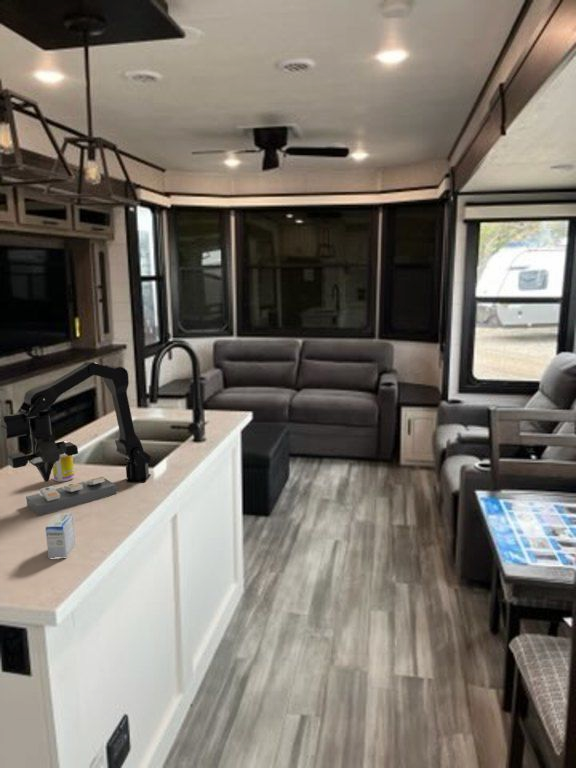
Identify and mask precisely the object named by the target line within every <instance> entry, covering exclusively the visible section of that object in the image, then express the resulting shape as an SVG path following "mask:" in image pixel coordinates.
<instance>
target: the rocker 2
mask: <svg viewBox="0 0 576 768" xmlns="http://www.w3.org/2000/svg"><path fill="white" fill-rule="evenodd" d="M97 478H98V479H96V478H93V480H91V479H89V480H90V481H88V480H85V481H86V483H87V485H93V484H97V483H101V482H105V480H104V478H105V477H104V478H100V477H97Z"/></svg>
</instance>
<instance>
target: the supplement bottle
mask: <svg viewBox="0 0 576 768" xmlns="http://www.w3.org/2000/svg"><path fill="white" fill-rule="evenodd" d="M61 441H62V440H60V441H55V443H57V442H61ZM63 441H64V442H65V443H67V442H68V441H66V440H63ZM73 459H74V458H73V455H71V456H68V455H66V454H65V453H64V454H61V455H60V459H59V461H56V462H55V464H54V465H53V468H52V473H53V480H54V481H55V482H60V483H63V482H68V481H71V480H73V479H74V478H75V468H74V460H73Z"/></svg>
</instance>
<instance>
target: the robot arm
mask: <svg viewBox="0 0 576 768" xmlns="http://www.w3.org/2000/svg"><path fill="white" fill-rule="evenodd" d="M93 376H96V377H101V378H102V379H103V382H104V384H105V386H106V388H107V389H108V391H109V393H110V394H111V397H112V402H113V407H114V411H115V415H116V416H115V417H116V420H117V425H118V430H119V438H118V439H115V440H114V442H115V445H116V452H118V454H119V455H120V456H121V457H123V458H124V461H127V462H126V466H125V473H126V482H127V483H146V481H147V480H148V479H149V478H150V477H151V476H152V475H151V473H150V472H149V471H150V470H149V464H150V463H151V459H152V455H150V454H148V453H147V452H146V451H144V448H143V447H144V446H143V444H142V441H141V440H140V438H139V437H138V436H137V433H136V432H135V427H134V423H133V417H132V412H131V407H130V403H129V396H128V393H127V391H128V388H129V381H130V380H129V372H128V370H127V369H126V368H125V367H122V366H119V365H113V364H109V365H103V364H99V363H97V362H95V361H90V360H87V361H85V362H84V363H82V364H81V365H80V366H78V367H76V368H74V369H73V370H71V371H69V372H67V373H65V374H63V376H61V377H59V378H57V379H56V380H54V381H52V382H49V383H47V384H43V385H39V386H37V387H34V388H32V389H29V390H28V391H26V392H25V394H24V397H23V401H22V404H21V405H20V407H19V408H18V410H17V413H12V414H3V415H1V420H0V433H1V436H2V438H3V439H4V440H8V439H14V438H18V437H25V436H27V434H29V433H30V434H29V439H30V440H31V452H32V453H27V454H25V453H23V452H22V451H21V452H15V453H12V454H8V457H7V464H8V465H9V466H10V467H11V468H12V469H18V468H22V467H26V466H27V465H28V463H30V464H31V465H32V466H35V467H36V469H37V471H38V473H39V474H40V477H42V479H43V481H44V482H45V483H49V481H50V477H51V473H52V472H53V465H54V464H55V462H56V461H59V459H60V455H61V454H64V453H65V454H66V455H68V456H71V455H72V456H76V455H77V454H79V448H78V446H77V445H76V444H74V443H73V442H71V441H67V443H65V442H64V441H65V440H60V441H61V442H59V441H55V439H54V435H53V434H52V433H53V432H52V423H51V417H53V416H57V414H58V413H57V411H55V410H54V409H52V408H51V406H52V405H53V404H55V403H56V402H57V400H58V398H59V397H61V396H62V395H63V394H65V393H66V392H68V391H70V390H71V389H73V388H74V387H76V386H78V385H80V384H81V383H83V382H84V381H86V380H88V379H89V378H91V377H93ZM55 442H57V443H55Z"/></svg>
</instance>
